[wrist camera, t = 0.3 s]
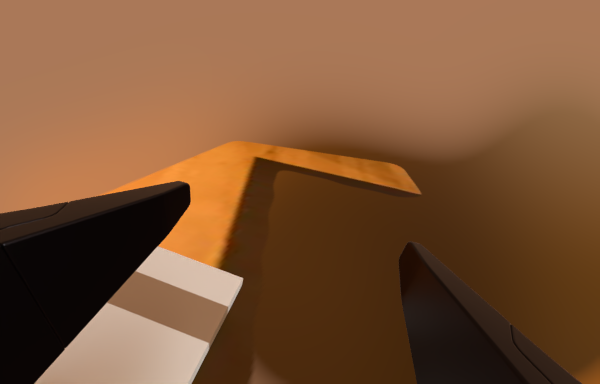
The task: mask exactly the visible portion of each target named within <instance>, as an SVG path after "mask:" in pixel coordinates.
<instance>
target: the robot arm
mask: <svg viewBox="0 0 600 384" xmlns="http://www.w3.org/2000/svg"><path fill="white" fill-rule="evenodd" d="M190 201H191V199H190V186H189V184H188V183H185V182H181V181H176V182H170V183H165V184H160V185H154V186H149V187H144V188H139V189H133V190H128V191H123V192H118V193H112V194H107V195H102V196H96V197H91V198H86V199H81V200H75V201H71V202H69V203H68V202H65V203H59V204H54V205H48V206H44V207H37V208H32V209H26V210H20V211H14V212H7V213H1V214H0V384H34V383H35V382H36V381H37V380H38V379H39V378H40V377H41V376H42V375H43V373H44V372H45V371H46V370H47V369H48V368H49V367H50V366H51V365H52V363H53V362H54V361H55V360H56V359H57V358H58V357H59V356H60V355H61V353H62V352H63V351H64V350H65V348H66V347H68V345H69V344H70V343H71V342H72V341H73V340H74V339H75V338H76V337H77V335H78V334H79V333H80V332H81V331H82V330H83V329H84V328H85V327H86V325H87V324H88V323H89V322H90V321H91V320H92V319H93V318H94V317H95V315H96V314H97V313H98V312H99V311H100V310H101V309H102V308H103V307H104V305H105V304H106V303H107V302H108V301H109V300H110V299H111V298H112V297H113V295H114V294H115V293H116V292H117V291H118V290H119V289H120V288H121V287H122V285H123V284H124V283H125V282H126V281H127V280H128V279H129V278H130V277H131V275H132V274H133V273H134V272H135V271H136V270H137V269H138V268H139V267H140V265H141V264H142V263H143V262H144V261H145V260H146V259H147V258H148V257H149V255H150V254H151V253H152V252H153V251H154V250H155V249H156V248H157V247H158V245H159V244H160V243H161V242H162V241H163V240H164V239H165V238H166V236H167V235H168V234H169V233H170V231H171V230H172V229H173V227H174V226H175V225H176V223H177V222H178V221H179V219H180V218H181V216H182V215H183V214H184V212H185V211H186V210H187V208H188V207H189V205H190ZM399 274H400V288H401V299H402V305H403V311H404V316H405V321H406V327H407V332H408V337H409V343H410V348H411V353H412V358H413V364H414V369H415V374H416V380H417V384H582V383H581V382H579V381H578V380H577V379H576V378H574V377H573V376H572V375H571V374H570V373H568V372H567V371H566V370H565V369H563V368H562V367H561V366H560V365H559V364H557V363H556V362H555V361H554V360H553V359H551V358H550V357H549V356H548V355H547V354H545V353H544V352H543V351H542V350H541V349H540V348H538V347H537V346H536V345H535V344H534V343H533V342H532V341H530V340H529V339H528V338H527V337H526V336H525V335H523V334H522V333H521V332H520V331H519V330H518V329H517V328H515V327H514V326H513V325H510V322H509V321H507V320H506V319H505V318H504V317H503V316H502V315H501V314H499V313H498V312H497V311H496V310H495V309H494V308H493V307H492V306H490V305H489V304H488V303H487V302H486V301H485V300H484V299H482V298H481V297H480V296H479V295H478V294H477V293H476V292H475V291H473V290H472V289H471V288H470V287H469V286H468V285H466V284H465V283H464V282H463V281H462V280H461V279H460V278H459V277H457V276H456V275H455V274H454V273H453V272H452V271H451V270H450V269H448V268H447V267H446V266H445V265H444V264H443V263H441V262H440V261H439V260H438V259H437V258H436V257H435V256H433V255H432V254H431V253H430V252H429V251H428V250H427V249H426V248H424V247H423V246H422V245H421V244H419V243H415V242H408V243H407V245H406V246H405V248H404V250H403V252H402V254H401V255H400V257H399Z"/></svg>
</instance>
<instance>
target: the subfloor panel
mask: <svg viewBox="0 0 600 384" xmlns="http://www.w3.org/2000/svg"><path fill="white" fill-rule="evenodd" d="M242 282H243V278H241V277H238V276H236V275H233V274H230V273H228V272H225V271H222V270H220V269H217V268H214V267H212V266H209V265H206V264H204V263H201V262H198V261H195V260H193V259H190V258H187V257H185V256H182V255H179V254H177V253H174V252H171V251H169V250H166V249H163V248H161V247H157V248H156V249H155V250H154V251H153V252H152V253H151V254H150V255H149V257H148V258H147V259H146V260H145V261H144V262H143V263H142V264H141V265H140V267H139V268H138V269H137V270H136V271H135V272H134V273H133V274H132V275H131V277H130V278H129V279H128V280H127V281H126V282H125V283H124V284H123V285H122V287H121V288H120V289H119V290H118V291H117V292H116V293H115V294H114V295H113V297H112V298H111V299H110V300H109V301H108V302H107V303H106V304H105V305H104V307H103V308H102V309H101V310H100V311H99V312H98V313H97V314H96V315H95V317H94V318H93V319H92V320H91V321H90V322H89V323H88V324H87V325H86V327H85V328H84V329H83V330H82V331H81V332H80V333H79V334H78V335H77V337H76V338H75V339H74V340H73V341H72V342H71V343H70V344H69V345H68V347H66V348H65V350H64V351H63V352H62V353H61V355H60V356H59V357H58V358H57V359H56V360H55V361H54V362H53V363H52V365H51V366H50V367H49V368H48V369H47V370H46V371H45V372H44V373H43V375H42V376H41V377H40V378H39V379H38V380H37V381H36V382H35V383H34V384H191V383H192V381H193V379H194V377H195V375H196V373H197V372H198V370H199V368H200V366H201V364H202V362H203V360H204V358H205V356H206V354H207V352H208V350H209V348H210V346H211V344H212V342H213V340H214V339H215V337H216V335H217V333H218V331H219V329H220V327H221V325H222V323H223V321H224V319H225V317H226V315H227V313H228V311H229V309H230V307H231V306H232V304H233V302H234V300H235V298H236V296H237V294H238V292H239V290H240V288H241V286H242Z"/></svg>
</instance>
